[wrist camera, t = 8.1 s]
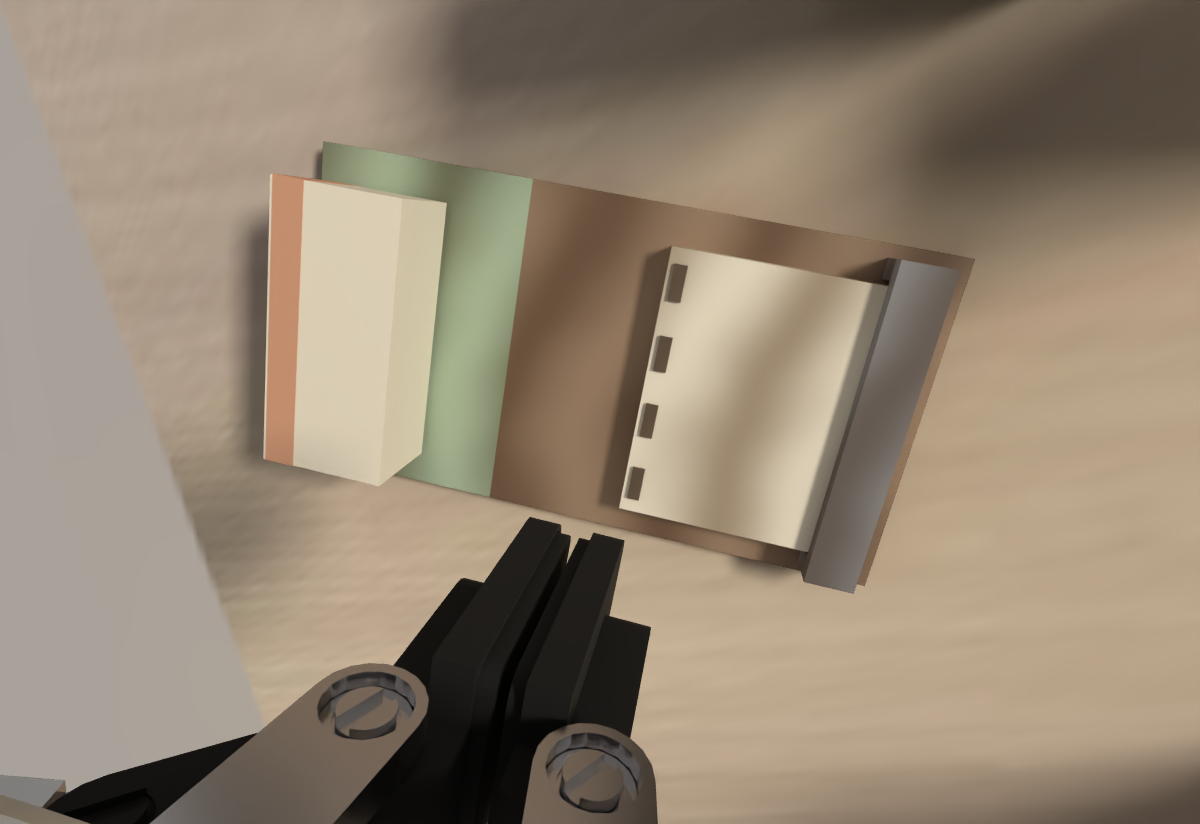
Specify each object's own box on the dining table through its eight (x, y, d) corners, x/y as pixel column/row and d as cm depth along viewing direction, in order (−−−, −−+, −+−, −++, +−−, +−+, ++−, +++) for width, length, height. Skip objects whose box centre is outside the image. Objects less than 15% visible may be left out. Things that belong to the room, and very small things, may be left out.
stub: (447, 202, 27) (401, 198, 23) (421, 453, 30) (378, 486, 26) (332, 181, 27) (269, 173, 23) (320, 429, 30) (263, 458, 26)
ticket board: (964, 257, 25) (996, 261, 22) (859, 574, 29) (875, 610, 26) (336, 144, 28) (295, 134, 25) (320, 447, 32) (284, 468, 29)
